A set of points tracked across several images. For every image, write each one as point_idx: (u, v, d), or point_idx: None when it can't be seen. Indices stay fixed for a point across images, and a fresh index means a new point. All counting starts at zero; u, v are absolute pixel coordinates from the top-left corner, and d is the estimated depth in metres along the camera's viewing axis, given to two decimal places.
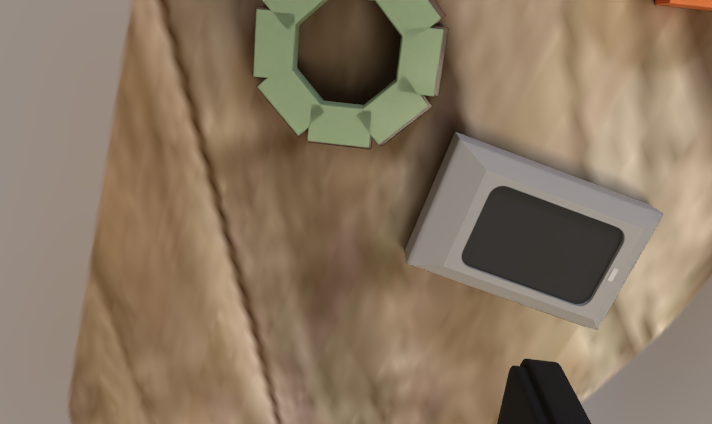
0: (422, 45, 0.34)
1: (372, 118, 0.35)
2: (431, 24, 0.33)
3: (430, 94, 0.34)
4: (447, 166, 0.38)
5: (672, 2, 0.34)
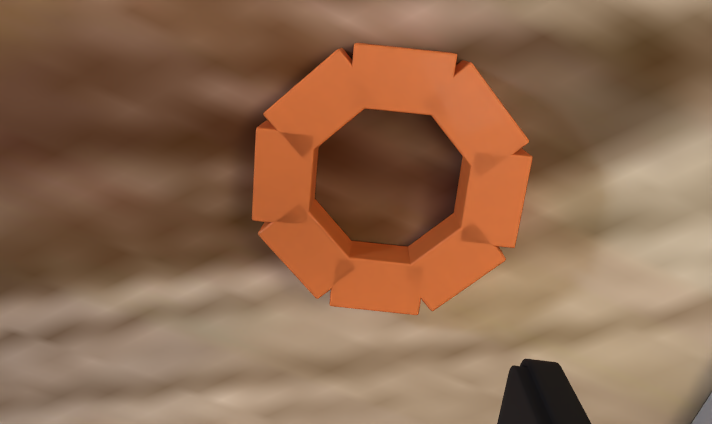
0: None
1: None
2: None
3: None
4: None
5: (513, 243, 0.22)
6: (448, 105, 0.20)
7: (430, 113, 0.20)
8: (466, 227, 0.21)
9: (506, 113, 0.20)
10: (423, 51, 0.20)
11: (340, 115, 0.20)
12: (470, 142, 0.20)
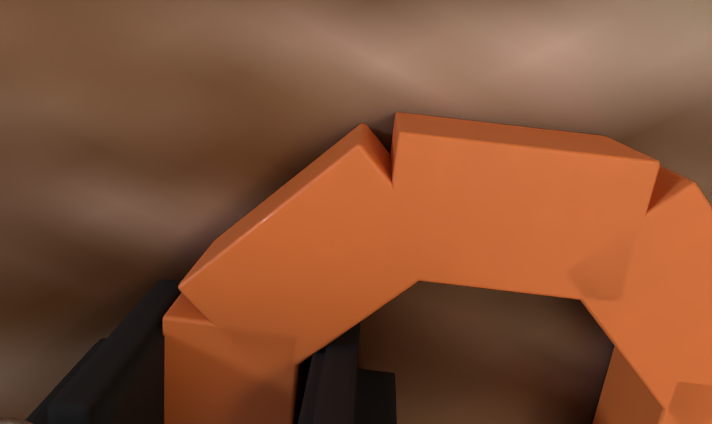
0: None
1: None
2: None
3: None
4: None
5: None
6: (625, 280, 0.08)
7: (579, 297, 0.08)
8: None
9: None
10: (574, 153, 0.08)
11: (359, 296, 0.08)
12: (669, 361, 0.09)
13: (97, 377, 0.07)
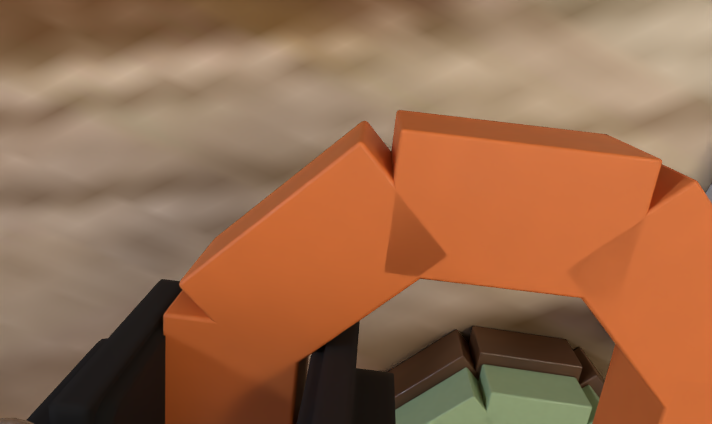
0: (511, 420, 0.22)
1: None
2: (481, 408, 0.22)
3: (589, 412, 0.21)
4: None
5: None
6: (626, 278, 0.08)
7: (580, 295, 0.08)
8: None
9: None
10: (576, 151, 0.08)
11: (361, 292, 0.08)
12: (670, 359, 0.09)
13: (98, 377, 0.07)
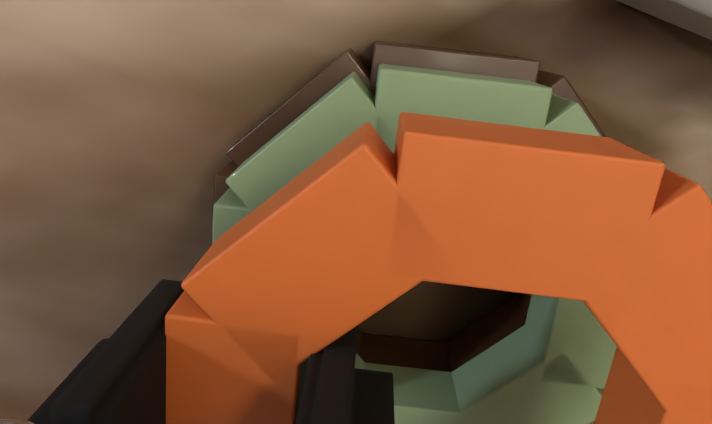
0: None
1: None
2: (366, 101, 0.13)
3: (547, 98, 0.13)
4: None
5: None
6: (629, 281, 0.08)
7: (583, 298, 0.08)
8: None
9: None
10: (580, 155, 0.08)
11: (363, 295, 0.08)
12: (672, 363, 0.09)
13: (99, 377, 0.07)
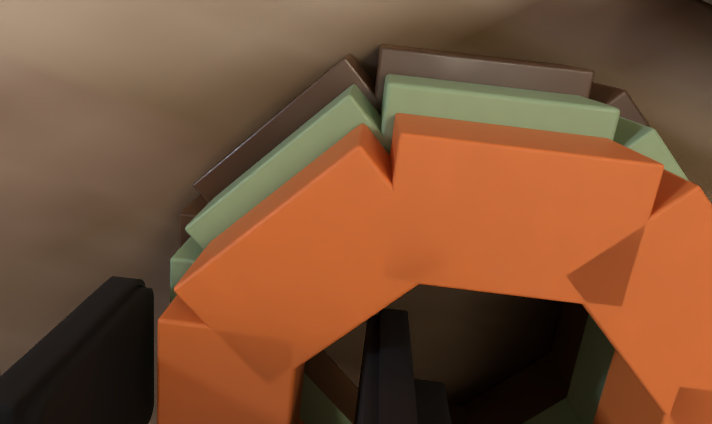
0: None
1: None
2: (369, 126, 0.10)
3: (613, 122, 0.09)
4: None
5: None
6: (628, 284, 0.08)
7: (581, 301, 0.08)
8: None
9: None
10: (578, 156, 0.08)
11: (359, 298, 0.08)
12: (671, 366, 0.08)
13: (28, 374, 0.07)
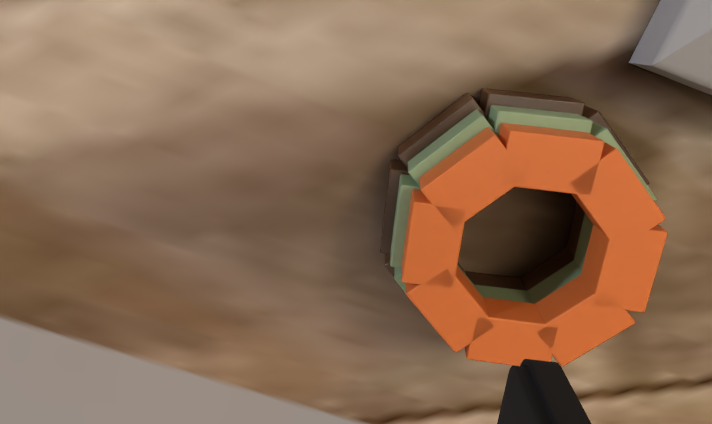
0: None
1: None
2: (490, 128, 0.23)
3: (590, 126, 0.23)
4: (694, 82, 0.24)
5: (644, 308, 0.23)
6: (592, 185, 0.22)
7: (575, 192, 0.22)
8: (600, 293, 0.23)
9: (646, 193, 0.22)
10: (573, 138, 0.21)
11: (491, 192, 0.22)
12: (610, 218, 0.22)
13: None
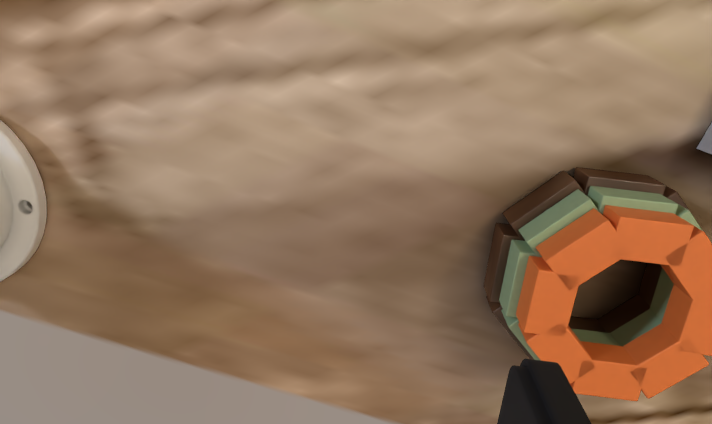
0: None
1: None
2: (595, 208, 0.29)
3: (675, 208, 0.29)
4: None
5: None
6: (682, 259, 0.28)
7: (668, 264, 0.28)
8: (683, 341, 0.29)
9: None
10: (669, 223, 0.27)
11: (602, 263, 0.28)
12: (695, 284, 0.28)
13: None
